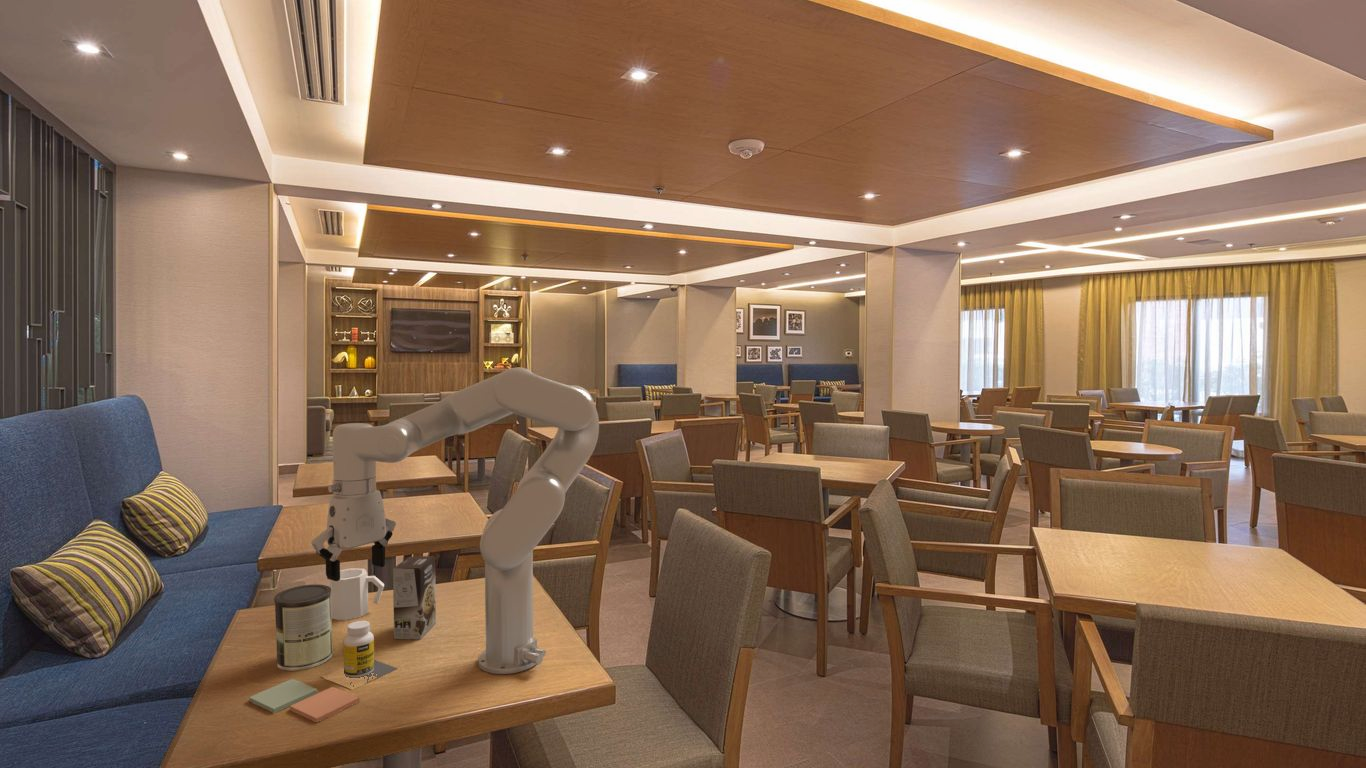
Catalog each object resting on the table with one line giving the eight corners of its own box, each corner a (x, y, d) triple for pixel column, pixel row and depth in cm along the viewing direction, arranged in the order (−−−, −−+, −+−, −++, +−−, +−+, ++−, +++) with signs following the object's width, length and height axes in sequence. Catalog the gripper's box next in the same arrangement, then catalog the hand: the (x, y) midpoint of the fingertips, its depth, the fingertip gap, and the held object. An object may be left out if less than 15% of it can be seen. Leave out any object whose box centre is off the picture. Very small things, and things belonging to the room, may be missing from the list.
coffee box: (421, 639, 151) (420, 568, 150) (393, 639, 151) (391, 568, 151) (437, 623, 160) (436, 555, 159) (410, 622, 161) (408, 555, 160)
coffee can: (264, 667, 138) (261, 598, 138) (306, 645, 148) (304, 581, 147) (304, 674, 135) (301, 604, 134) (344, 652, 145) (342, 587, 144)
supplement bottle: (357, 681, 132) (356, 632, 132) (338, 675, 135) (336, 627, 134) (380, 669, 137) (379, 621, 137) (361, 664, 140) (360, 617, 139)
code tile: (397, 670, 138) (397, 668, 138) (352, 692, 129) (352, 689, 129) (366, 658, 143) (366, 656, 143) (320, 678, 134) (320, 676, 134)
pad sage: (317, 693, 128) (317, 689, 128) (274, 713, 121) (273, 708, 121) (292, 682, 132) (292, 678, 132) (249, 701, 125) (249, 697, 125)
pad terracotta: (359, 702, 125) (359, 697, 125) (317, 722, 118) (316, 718, 118) (332, 690, 129) (332, 686, 129) (290, 710, 122) (290, 706, 122)
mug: (326, 622, 161) (325, 581, 160) (334, 608, 169) (333, 569, 168) (382, 616, 164) (381, 576, 163) (387, 603, 172) (386, 565, 172)
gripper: (324, 497, 125) (326, 589, 126) (405, 481, 140) (406, 563, 140) (300, 492, 128) (302, 582, 129) (381, 477, 143) (383, 557, 144)
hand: (356, 572), depth 135 cm, fingers open, 9 cm apart
